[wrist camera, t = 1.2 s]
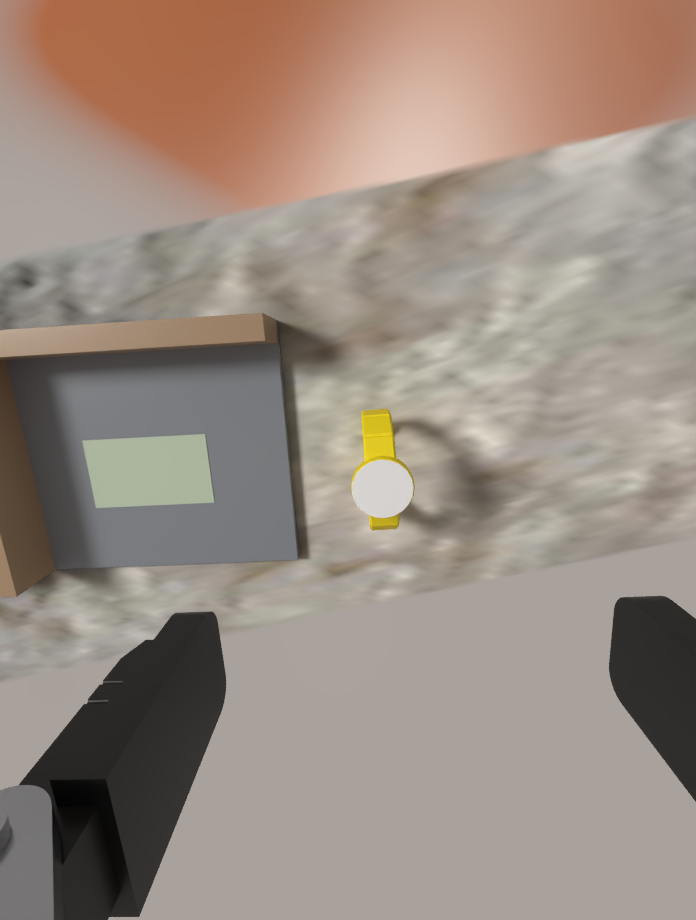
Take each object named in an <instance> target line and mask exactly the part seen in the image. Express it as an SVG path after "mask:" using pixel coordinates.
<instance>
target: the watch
mask: <svg viewBox="0 0 696 920" xmlns="http://www.w3.org/2000/svg"><path fill="white" fill-rule="evenodd" d="M362 429H363V443H364V457H365V461H364V462H362V463H361V464H360V465H359V467H358V468H357V469H356V470H355V473H354V475H353V477H352V488H351V491H352V495H353V499H354V501H355V503H356V504H357V506H358V507H359V509H361V510H362V511H363V512H364V513H366V514H368V515H369V519H370V529H372V530H384V529H397V527H398V526H399V513H400V512H402V511H403V510H404V509H405V508H406V507H407V506H408V505H409V504H410V502H411V500H412V498H413V495H414V481H413V477H412V475H411V472H410V471H409V469H408V468H407V466H406V465H405V464H404V463H403V462H401V461H400V460H399V459H396V451H395V441H394V432H393V425H392V419H391V414H390V412H389V410H388V409H379V410H367V411H363V412H362Z"/></svg>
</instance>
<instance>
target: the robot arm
mask: <svg viewBox="0 0 696 920" xmlns="http://www.w3.org/2000/svg"><path fill="white" fill-rule="evenodd" d="M609 672H610V678H611V682H612V685H613V688H614V691H615V693H616V695H617V697H618V698H619V700H620V702H621V703H622V705H623V706H624V707H625V709H626V710H627V711H628V713H629V714H630V715H631V717H632V718H633V719H634V721H635V722H636V723H637V725H638V726H639V727H640V728H641V730H642V731H643V732H644V734H645V735H646V736H647V738H648V739H649V740H650V742H651V743H652V744H653V746H654V747H655V748H656V749H657V751H658V752H659V754H660V755H661V756H662V758H663V759H664V760H665V762H666V763H667V764H668V765H669V767H670V768H671V770H672V771H673V772H674V774H675V775H676V776H677V777H678V779H679V780H680V781H681V783H682V784H683V785H684V787H685V788H686V789H687V791H688V792H689V793H690V795H691V796H692V797H693V799H694V800H695V801H696V619H695V618H694V617H692V616H691V615H690V614H689V613H687V612H686V611H685V610H684V609H682V608H681V607H680V606H678V605H677V604H676V603H674V602H673V601H672V600H670V599H669V598H667V597H664V596H647V597H623V598H620V599H619V600H617V602H616V604H615V608H614V617H613V629H612V639H611V650H610V662H609ZM225 692H226V675H225V668H224V661H223V655H222V648H221V642H220V635H219V628H218V622H217V618H216V615H215V614H214V613H213V612H188V613H175V614H173V615H172V616H171V617H170V619H169V620H168V621H167V623H166V624H165V625H164V627H163V628H162V630H161V631H160V632H159V634H158V635H157V636H156V638H155V639H154V640H145V641H144V642H143V643H141V644H140V645H139V646H137V647H136V648H134V649H133V650H132V651H130V652H129V653H128V654H126V655H125V656H124V657H122V658H121V659H120V661H119V662H118V663H117V664H116V666H115V667H114V668H113V669H112V670H111V672H110V673H109V674H108V675H107V676H106V678H105V679H104V680H103V685H99V686H98V688H97V689H96V690H95V691H94V693H93V694H92V695H91V696H90V698H89V699H88V703H87V704H84V705H83V706H82V707H81V709H80V710H79V711H78V712H77V714H76V715H75V716H74V717H73V719H72V720H71V721H70V722H69V724H68V725H67V726H66V727H65V729H64V730H63V731H62V732H61V733H60V735H59V736H58V737H57V738H56V740H55V741H54V742H53V743H52V745H51V746H50V747H49V748H48V750H47V751H46V752H45V753H44V754H43V756H42V757H41V758H40V759H39V761H38V762H37V763H36V764H35V766H34V767H33V768H32V769H31V770H30V772H29V773H28V774H27V775H26V777H25V778H24V779H23V780H22V782H21V783H20V784H19V785H18V786H14V787H9V788H6V789H3V790H0V920H108V918H109V917H139V916H140V913H141V911H142V908H143V906H144V903H145V901H146V898H147V896H148V893H149V891H150V888H151V886H152V883H153V881H154V878H155V876H156V873H157V871H158V868H159V866H160V863H161V861H162V858H163V856H164V853H165V851H166V848H167V846H168V843H169V841H170V838H171V836H172V833H173V831H174V828H175V826H176V823H177V821H178V818H179V816H180V813H181V811H182V808H183V806H184V804H185V801H186V799H187V796H188V794H189V791H190V788H191V786H192V784H193V781H194V779H195V776H196V773H197V771H198V768H199V766H200V764H201V761H202V758H203V756H204V754H205V751H206V748H207V746H208V744H209V741H210V738H211V736H212V734H213V731H214V729H215V726H216V723H217V721H218V718H219V716H220V714H221V711H222V708H223V704H224V699H225Z"/></svg>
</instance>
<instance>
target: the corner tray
mask: <svg viewBox="0 0 696 920" xmlns="http://www.w3.org/2000/svg"><path fill="white" fill-rule="evenodd" d="M298 557H299V548H298V537H297V526H296V515H295V504H294V494H293V483H292V472H291V461H290V450H289V439H288V428H287V418H286V407H285V396H284V385H283V374H282V363H281V353H280V342H279V331H278V320H276V319H274V318H272V317H269V316H267V315H265V314H263V313H255V314H240V315H225V316H209V317H194V318H179V319H163V320H148V321H133V322H118V323H102V324H87V325H72V326H56V327H41V328H26V329H11V330H0V597H16V596H18V595H20V594H21V593H22V592H24V591H25V590H27V589H28V588H30V587H31V586H33V585H34V584H36V583H37V582H38V581H40V580H41V579H43V578H44V577H46V576H47V575H49V574H50V573H52V572H53V571H54V570H57V569H82V568H106V567H130V566H155V565H179V564H204V563H228V562H253V561H277V560H298Z"/></svg>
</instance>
